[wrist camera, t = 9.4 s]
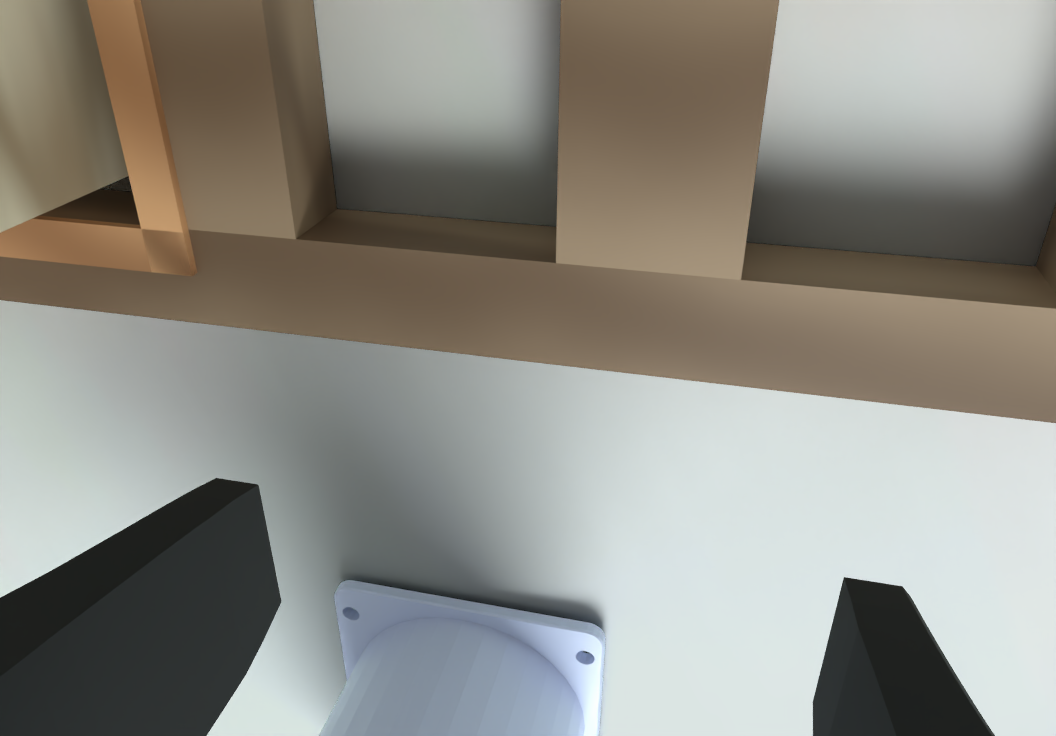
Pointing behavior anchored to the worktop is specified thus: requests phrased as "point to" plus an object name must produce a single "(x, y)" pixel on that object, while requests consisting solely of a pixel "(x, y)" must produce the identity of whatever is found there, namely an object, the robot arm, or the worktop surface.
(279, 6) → the brown slotted board
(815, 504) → the worktop surface
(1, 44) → the peg
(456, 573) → the worktop surface
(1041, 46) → the worktop surface
